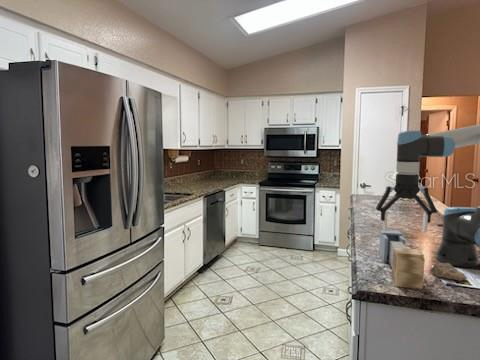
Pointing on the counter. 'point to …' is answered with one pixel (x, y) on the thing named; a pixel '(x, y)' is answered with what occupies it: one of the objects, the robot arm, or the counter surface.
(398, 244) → the light grey long block
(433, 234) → the counter surface
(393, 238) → the grey u-shaped block
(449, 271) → the rock
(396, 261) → the cardboard box
